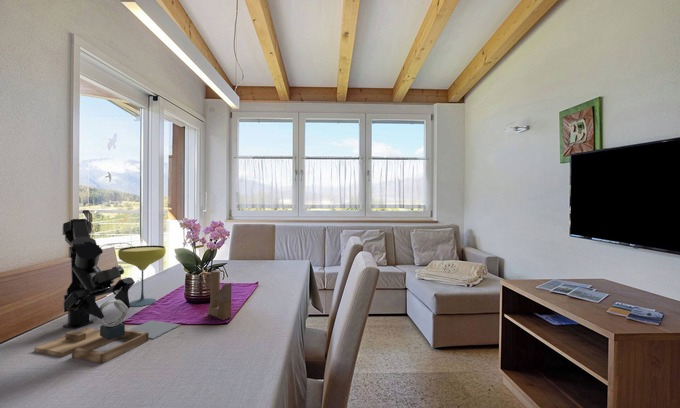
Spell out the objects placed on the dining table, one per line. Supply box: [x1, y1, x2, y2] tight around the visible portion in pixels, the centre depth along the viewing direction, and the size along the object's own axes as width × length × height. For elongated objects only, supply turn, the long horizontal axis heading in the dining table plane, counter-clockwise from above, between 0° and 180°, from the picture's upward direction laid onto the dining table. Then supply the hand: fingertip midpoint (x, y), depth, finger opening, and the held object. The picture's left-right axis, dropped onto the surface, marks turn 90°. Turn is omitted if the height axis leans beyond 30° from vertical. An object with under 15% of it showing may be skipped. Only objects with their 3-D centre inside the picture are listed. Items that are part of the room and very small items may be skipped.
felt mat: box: [129, 319, 181, 340], centre depth 109 cm, size 14×12×1 cm
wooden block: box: [207, 270, 232, 321], centre depth 123 cm, size 4×11×18 cm, turn 55°
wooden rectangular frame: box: [71, 329, 149, 364], centre depth 95 cm, size 12×15×2 cm
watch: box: [96, 299, 130, 340], centre depth 95 cm, size 6×8×11 cm
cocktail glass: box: [117, 245, 167, 308], centre depth 138 cm, size 18×18×25 cm
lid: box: [33, 327, 102, 358], centre depth 98 cm, size 12×15×3 cm
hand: (116, 313), depth 95 cm, fingers closed on watch, 8 cm apart
